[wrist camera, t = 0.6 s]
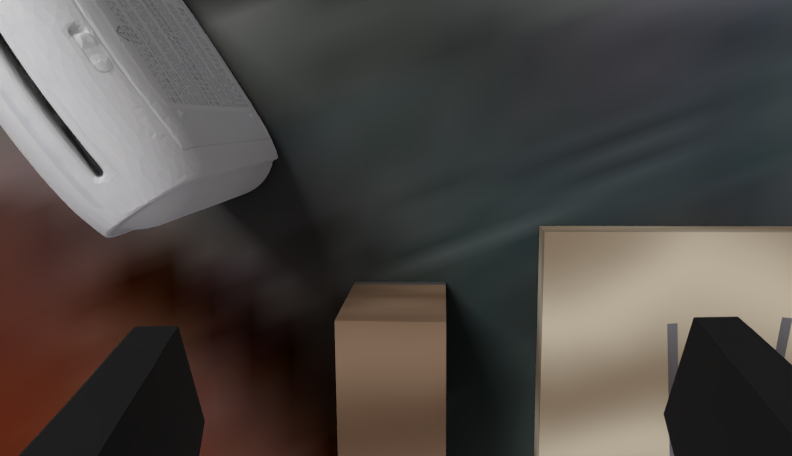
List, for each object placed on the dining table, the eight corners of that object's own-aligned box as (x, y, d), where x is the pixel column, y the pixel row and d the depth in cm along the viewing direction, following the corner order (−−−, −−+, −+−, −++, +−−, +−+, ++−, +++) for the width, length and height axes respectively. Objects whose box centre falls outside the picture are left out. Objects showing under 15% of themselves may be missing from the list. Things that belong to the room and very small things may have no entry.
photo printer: (79, 12, 30) (-173, -57, 18) (159, -47, 29) (-46, -160, 17) (216, 214, 31) (69, 282, 19) (296, 162, 30) (197, 196, 18)
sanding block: (445, 471, 32) (445, 552, 26) (359, 469, 32) (340, 548, 27) (445, 281, 31) (446, 322, 25) (355, 280, 31) (334, 321, 25)
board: (965, 538, 31) (992, 560, 29) (532, 525, 32) (536, 545, 31) (1008, 226, 29) (1039, 232, 27) (539, 226, 30) (544, 232, 28)
